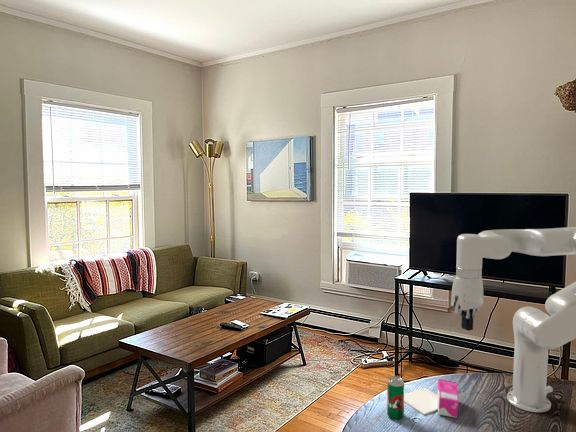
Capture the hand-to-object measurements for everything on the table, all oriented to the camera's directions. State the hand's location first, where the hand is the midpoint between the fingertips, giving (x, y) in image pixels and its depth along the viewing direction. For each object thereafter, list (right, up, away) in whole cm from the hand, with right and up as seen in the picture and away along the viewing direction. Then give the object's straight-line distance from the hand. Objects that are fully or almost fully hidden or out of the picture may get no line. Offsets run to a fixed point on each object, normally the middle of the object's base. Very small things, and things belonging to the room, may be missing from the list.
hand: (467, 328), depth 142 cm
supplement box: (-5, -21, +5) cm, 22 cm away
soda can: (-24, -26, -4) cm, 36 cm away
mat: (-13, -25, +4) cm, 28 cm away
